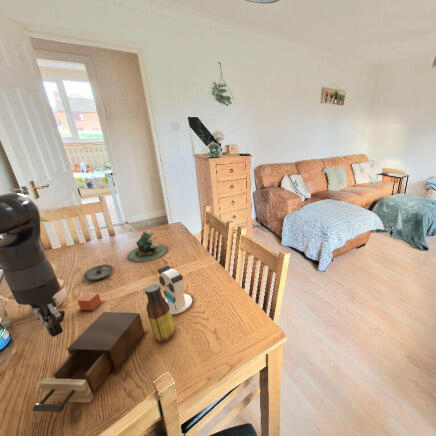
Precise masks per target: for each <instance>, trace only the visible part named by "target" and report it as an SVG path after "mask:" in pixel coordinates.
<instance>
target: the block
mask: <svg viewBox="0 0 436 436" xmlns="http://www.w3.org/2000/svg"><path fill="white" fill-rule="evenodd" d="M101 303H102V300H101V297H100V294H99V293H98V292H86V293H84V295H82V296H81V297H80V298H78V300H77V304H78V306H79V309H80V310H81V311H94V310H95V309H96V308H97V307H98V306H99V305H100V304H101Z"/></svg>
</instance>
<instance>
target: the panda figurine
mask: <svg viewBox="0 0 436 436" xmlns="http://www.w3.org/2000/svg"><path fill="white" fill-rule="evenodd" d="M157 272H158V274H159V276H158V280H159V283H160V286H162V288H163V289H164V290H163V294H164V296H165V298H164V299H165V300H166V302H167V303H168V304H169V307H170V311H171V315H178V314H181V313H183V312H185V311H186V310H188V309H189V308H190V307H191V305H192V303H193V298H192V296H191V295H190V294H188V293H184V292H185V291H186V287H185V282H184V276H183V275H182V274H181V273H179V271H177V270H176V269H174V268H170V266H169V265H168V264H167V265H165V266H161V267H160V268H158V269H157Z"/></svg>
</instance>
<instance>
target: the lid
mask: <svg viewBox="0 0 436 436" xmlns="http://www.w3.org/2000/svg"><path fill="white" fill-rule="evenodd" d="M113 271H114V267H113V266H112V265H111V264H99V265H96V266H93V267H91V268H89V269H87V270H86V271H85V272H84V274H83V278H84V279H85V280H86V281H90V282H91V281H92V282H94V281H95V282H96V281H99V280H102V279H104V278H106V277H108V276H110V275H111V274H112V272H113Z"/></svg>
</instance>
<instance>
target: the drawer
mask: <svg viewBox="0 0 436 436" xmlns="http://www.w3.org/2000/svg"><path fill="white" fill-rule="evenodd" d="M112 367H113V366H112V363H111V361H110V358H109V355H108V352H92V351H73V352H72V353H71V354H68V356H67V358H65V359H64V361H63V362H61V363H60V365H59V366H58V367H57V368H56V369H55V370H54V371H53V372H52V373H51V375H52V377H53V378H42V379H41V381H39V382H38V385H39V386H40V389H41V390H42V392H43V394H44V395H45V396H44V397H43V398H42V399H41V400H40V402H39V403H35V404H34V406H33V407H32V409H31V410H32V412H41V413H43V412H44V413H62V412H63V411H64V409H65V407H66V406H65V405H66V404H67V403H88V404H89V403H91V402H92V401H93V400H94V394H93V393H92V392H96V390H97V389H98V387H99V386H100V385H101V383H102V382H103V381H104V379H105V378H106V376H107V375H108V374H109V373H110V372H111V371H110V370H111V368H112ZM47 401H48V402H61V403H46V402H47Z"/></svg>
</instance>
